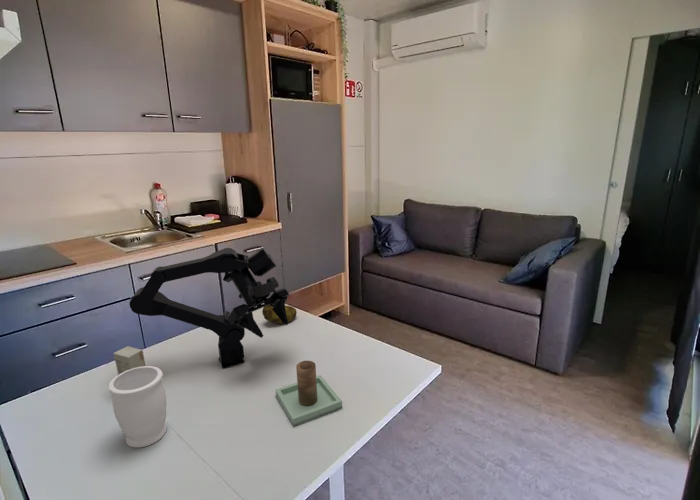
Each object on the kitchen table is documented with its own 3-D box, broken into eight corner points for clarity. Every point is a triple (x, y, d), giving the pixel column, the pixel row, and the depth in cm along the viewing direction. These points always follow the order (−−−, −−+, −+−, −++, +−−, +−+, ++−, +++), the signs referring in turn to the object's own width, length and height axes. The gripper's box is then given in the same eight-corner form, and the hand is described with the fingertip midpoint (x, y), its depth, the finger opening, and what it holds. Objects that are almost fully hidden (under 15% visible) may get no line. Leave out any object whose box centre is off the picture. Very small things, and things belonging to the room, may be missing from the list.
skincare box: (151, 389, 105) (144, 349, 102) (136, 398, 102) (129, 357, 98) (135, 383, 108) (127, 344, 105) (120, 392, 104) (112, 352, 101)
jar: (181, 424, 92) (172, 369, 88) (146, 457, 82) (134, 397, 78) (147, 415, 95) (137, 362, 91) (109, 445, 86) (96, 387, 82)
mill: (298, 406, 97) (295, 367, 93) (299, 394, 101) (296, 356, 98) (317, 405, 97) (314, 366, 94) (317, 393, 101) (315, 356, 98)
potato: (299, 324, 142) (298, 304, 140) (264, 329, 138) (262, 309, 136) (295, 315, 150) (294, 296, 147) (262, 320, 146) (260, 300, 144)
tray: (293, 426, 91) (293, 419, 90) (275, 396, 102) (275, 389, 101) (342, 408, 97) (342, 401, 96) (320, 381, 108) (320, 375, 107)
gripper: (229, 280, 100) (260, 330, 96) (283, 262, 114) (311, 305, 111) (215, 301, 107) (243, 348, 103) (267, 282, 121) (294, 323, 117)
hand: (275, 330), depth 108 cm, fingers open, 9 cm apart
